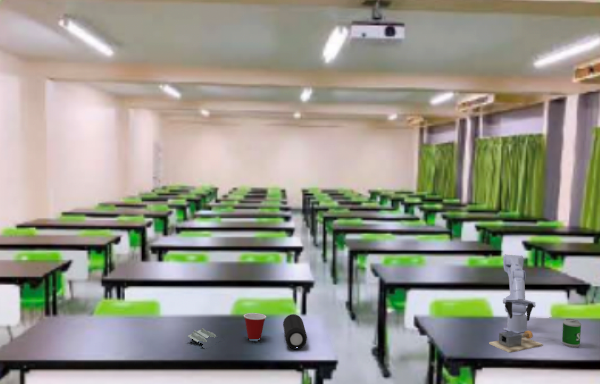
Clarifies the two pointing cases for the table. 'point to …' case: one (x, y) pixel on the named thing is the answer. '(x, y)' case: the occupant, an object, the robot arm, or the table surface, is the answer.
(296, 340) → the portable speaker
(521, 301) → the robot arm
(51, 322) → the table surface
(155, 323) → the table surface
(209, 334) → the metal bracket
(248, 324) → the plastic cup
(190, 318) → the table surface
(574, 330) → the soda can
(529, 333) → the shaft
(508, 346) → the bearing stand
